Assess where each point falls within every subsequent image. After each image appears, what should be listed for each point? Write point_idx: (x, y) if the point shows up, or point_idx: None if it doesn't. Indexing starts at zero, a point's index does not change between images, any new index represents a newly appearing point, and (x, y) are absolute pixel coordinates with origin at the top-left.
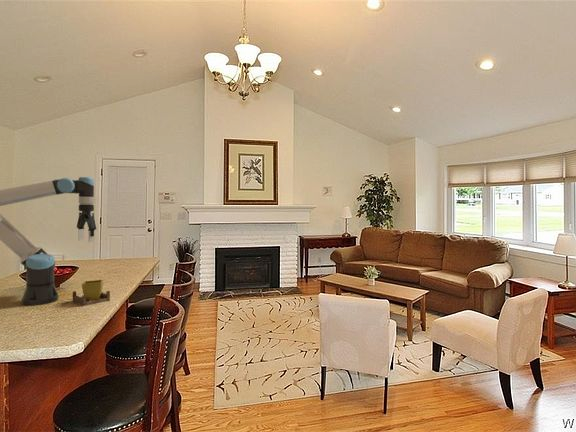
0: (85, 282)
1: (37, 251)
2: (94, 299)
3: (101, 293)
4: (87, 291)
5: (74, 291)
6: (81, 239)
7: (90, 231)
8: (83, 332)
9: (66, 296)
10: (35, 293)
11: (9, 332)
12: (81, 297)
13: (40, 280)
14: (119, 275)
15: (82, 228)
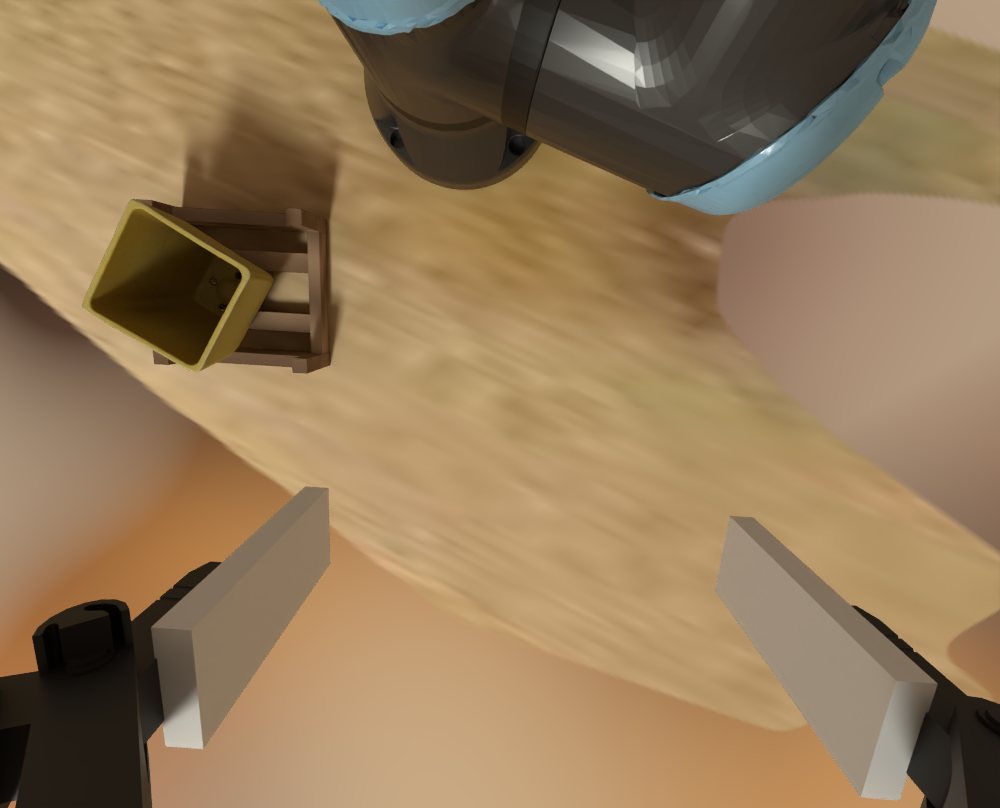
0: (243, 273)
1: None
2: (264, 311)
3: (251, 352)
4: (162, 239)
5: (293, 216)
6: (728, 562)
7: (167, 640)
8: None
9: (464, 246)
10: None
11: None
12: (308, 262)
13: None
14: (758, 701)
15: (927, 799)
